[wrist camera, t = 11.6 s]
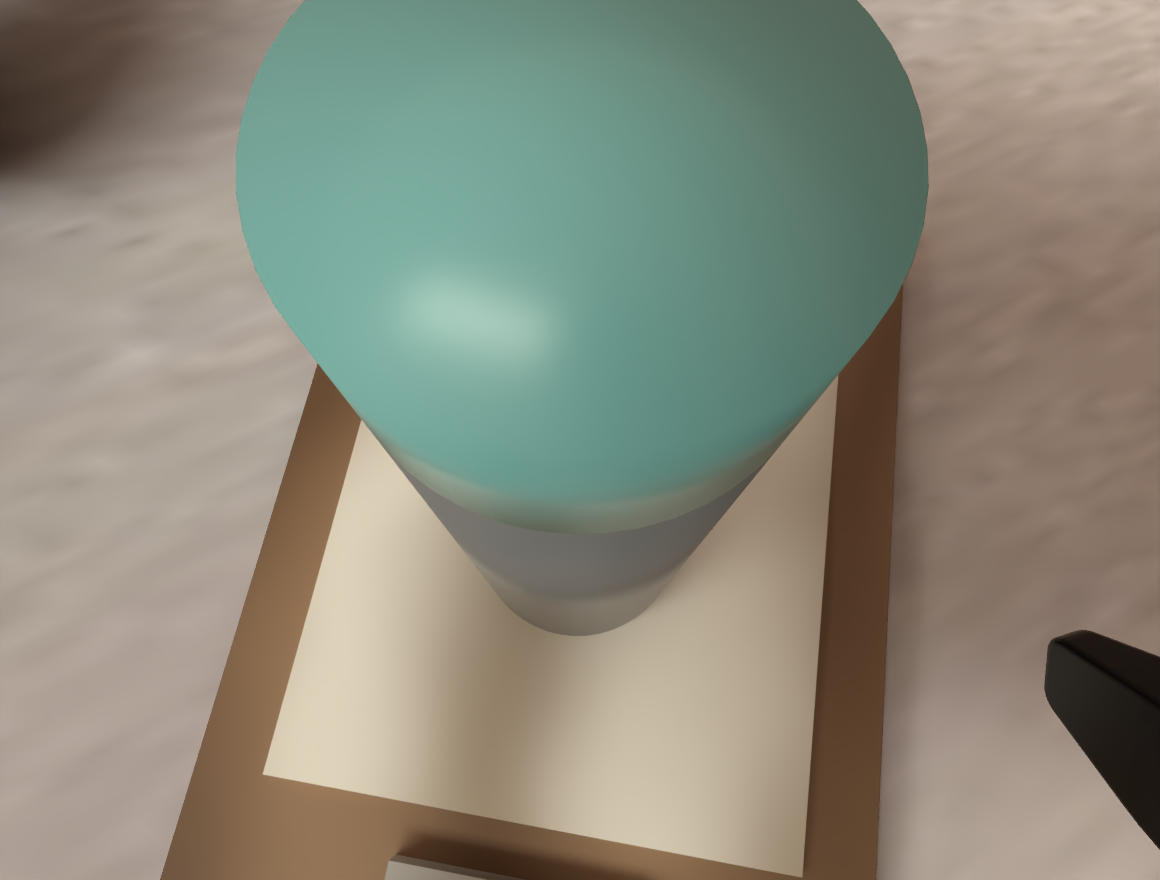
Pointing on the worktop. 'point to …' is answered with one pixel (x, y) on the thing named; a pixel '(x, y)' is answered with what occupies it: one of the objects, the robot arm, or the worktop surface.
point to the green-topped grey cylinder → (581, 256)
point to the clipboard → (557, 683)
